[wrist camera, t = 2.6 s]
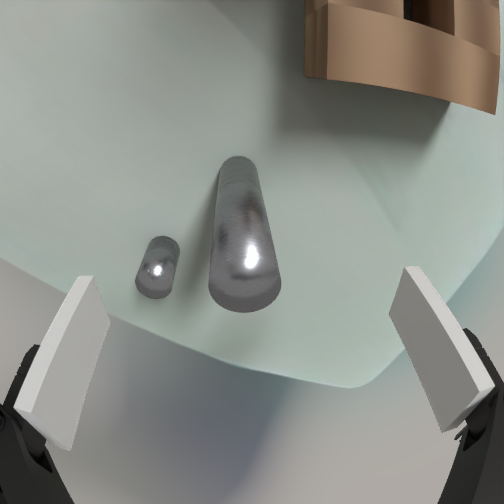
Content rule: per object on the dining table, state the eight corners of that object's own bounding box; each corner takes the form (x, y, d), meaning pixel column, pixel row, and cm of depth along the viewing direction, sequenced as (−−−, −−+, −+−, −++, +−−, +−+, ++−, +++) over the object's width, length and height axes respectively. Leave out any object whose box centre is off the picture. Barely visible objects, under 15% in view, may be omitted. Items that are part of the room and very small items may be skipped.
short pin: (151, 264, 29) (139, 298, 25) (145, 236, 27) (131, 269, 23) (181, 263, 29) (174, 298, 25) (177, 235, 27) (168, 268, 23)
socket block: (304, 76, 21) (326, 79, 16) (303, -75, 13) (322, -106, 8) (451, 100, 21) (495, 115, 16) (452, -31, 14) (493, -40, 9)
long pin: (220, 191, 25) (211, 313, 14) (218, 156, 24) (205, 257, 12) (256, 190, 26) (279, 310, 14) (257, 155, 24) (283, 255, 12)
